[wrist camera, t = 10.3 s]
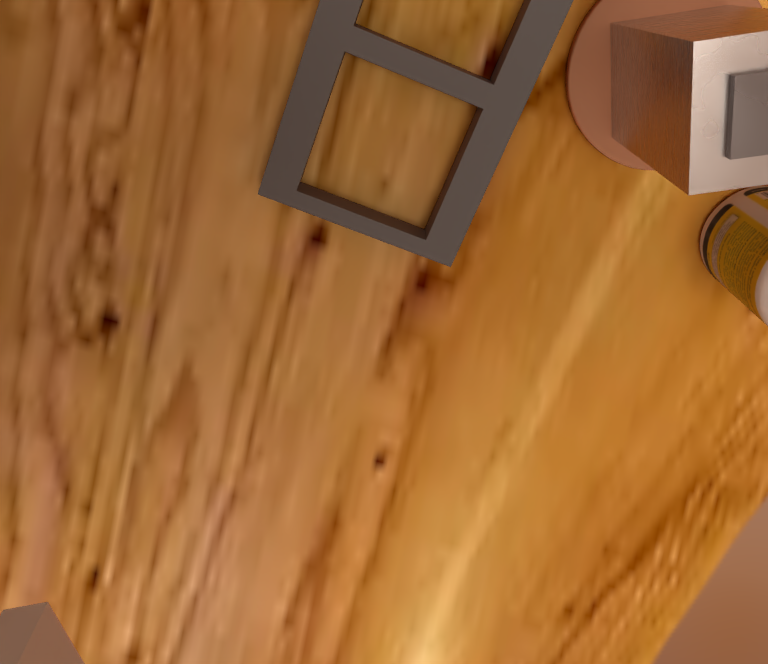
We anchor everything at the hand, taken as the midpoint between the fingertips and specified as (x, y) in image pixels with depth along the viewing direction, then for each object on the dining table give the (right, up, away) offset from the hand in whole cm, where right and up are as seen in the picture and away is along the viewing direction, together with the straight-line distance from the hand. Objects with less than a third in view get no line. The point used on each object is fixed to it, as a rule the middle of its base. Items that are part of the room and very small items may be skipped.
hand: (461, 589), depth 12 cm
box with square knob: (+10, +15, +18) cm, 25 cm away
